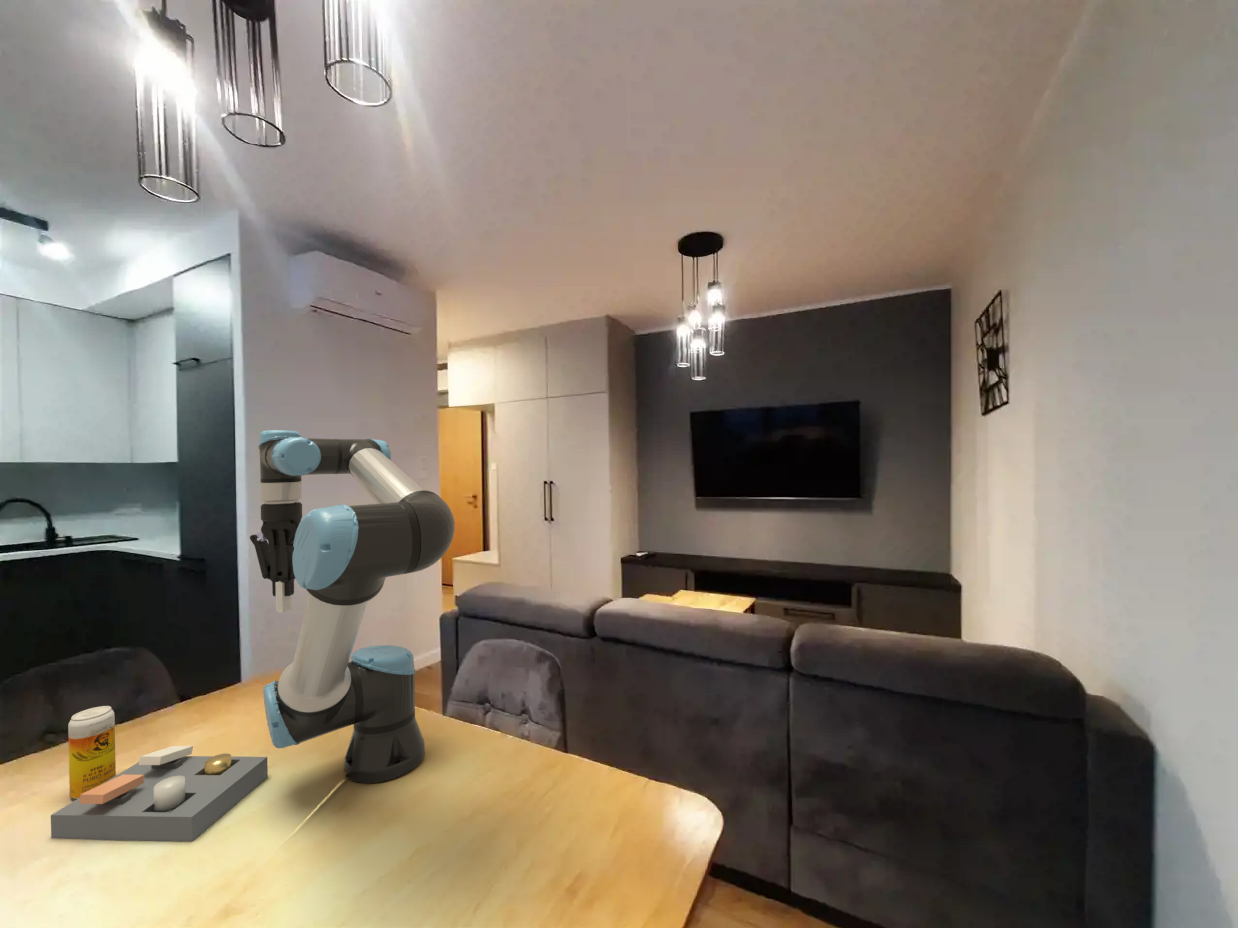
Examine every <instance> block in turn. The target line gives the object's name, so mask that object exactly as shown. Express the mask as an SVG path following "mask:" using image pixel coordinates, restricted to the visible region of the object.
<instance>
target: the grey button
mask: <svg viewBox="0 0 1238 928" xmlns="http://www.w3.org/2000/svg"><path fill="white" fill-rule="evenodd" d="M184 800H185V777H184V776H173V777H170V778H167V779H164V780H162V781H160V782H159V783H157V784H156V785H155V786H154V810H155V811H166V810H169V809H172V808H174V807H176V806H178V805H180V804H181V803H183V802H184Z"/></svg>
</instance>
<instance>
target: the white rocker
mask: <svg viewBox="0 0 1238 928" xmlns="http://www.w3.org/2000/svg"><path fill="white" fill-rule="evenodd" d="M193 747H194V745H172V746H169V747H166V748H162V749H159V750H155V751H153V752H149V753H147V754H144V755H141V756H139V760H138V762H139V765H161V764H164V763H167V762H170V761H173V760H176V759H179V758H181V757H184V756H191V755H192V754H193Z"/></svg>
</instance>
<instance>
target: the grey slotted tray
mask: <svg viewBox="0 0 1238 928" xmlns="http://www.w3.org/2000/svg"><path fill="white" fill-rule="evenodd" d="M211 757H213V755H211V756H210V755H209V756H207V755H202V756H201V755H197V756H196V755H187V756H184V757H181V758H179V759H176V760H173V761H170V762H167V763H164V764H161V765H139V761H138V762H136V763H134V764H133V765H131V766H130V767H128V768H126V769H125V770H124V771H121V772H120V773H118V774H116V776H115V777H113V778H111V779H110V780H112V779H114V778H116V777H119V776H121V775H144V783H143V784H141V785H139V786H137V787H135V788H133V789H131V790H129V791H127V792H125V793H123V794H121V795H119V796H117V797H115V798H113V799H111V800H110V801H108V802H106V803H104V804H79V801H80V798H78V799H77V800H75V799H74V801H72V802H70V803H68V804H67V805H65V806H63V807H62V808H60V809H59V810H56V811H55V812H53V813H52V814H50V839H57V840H58V839H61V840H66V839H67V840H90V841H92V840H93V841H131V842H133V841H135V842H137V841H138V842H139V841H140V842H141V841H142V842H146V841H147V842H194V841H195V840H196V839H197V838H198V837H200V836H201V835H202V834H203V833H204V832H205V831H207V830H208V829H209V828H210V827H211V826H212V825H214V824H215V822H217V821H218V820H219V819H220V818H222V817H223V816H224V815H225V814H226V813H227V812H229V811H230V810H231V809H232V808H233V807H235V806H236V805H237V804H238V803H240V801H242V800H243V799H244V798H245V797H247V796H248V795H249V794H250V793H251V792H252V791H253V790H254V789H256V788H257V787H258V786H259V785H261V784H262V783H263V781H266V780H267V779H268V776H269V775H268V756H232V755H231V767H230V768H229V769H228V770H227V771H225V772H224V773H223V774H221V775H205V771H204V763H205V761H206V760H208V759H209V758H211ZM173 776H184V777H185V800H184V802H183V803H181V804H180V805H178V806H176V807H174V808H172V809H169V810H166V811H155V810H154V786H155V785H156V784H157V783H159V782H160V781H162V780H164V779H167V778H170V777H173ZM110 780H108V781H110ZM108 781H106V782H108ZM106 782H105V783H106ZM103 784H104V783H103ZM101 785H102V784H101Z"/></svg>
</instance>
